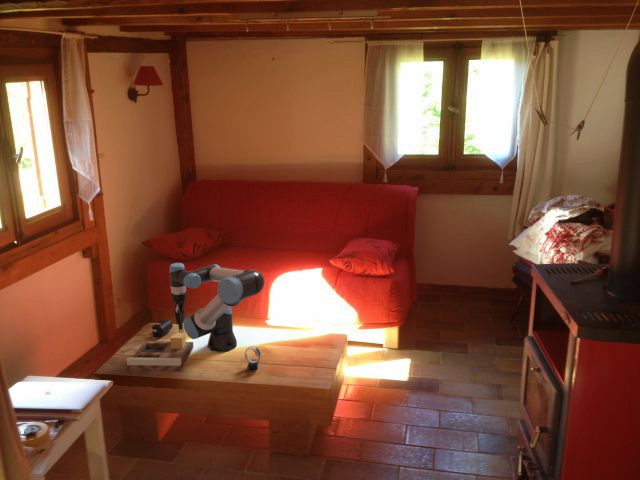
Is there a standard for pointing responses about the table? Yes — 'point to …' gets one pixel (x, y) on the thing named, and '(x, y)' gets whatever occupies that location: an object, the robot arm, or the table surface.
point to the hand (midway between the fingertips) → (181, 334)
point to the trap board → (159, 357)
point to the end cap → (162, 328)
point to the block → (177, 340)
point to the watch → (253, 363)
